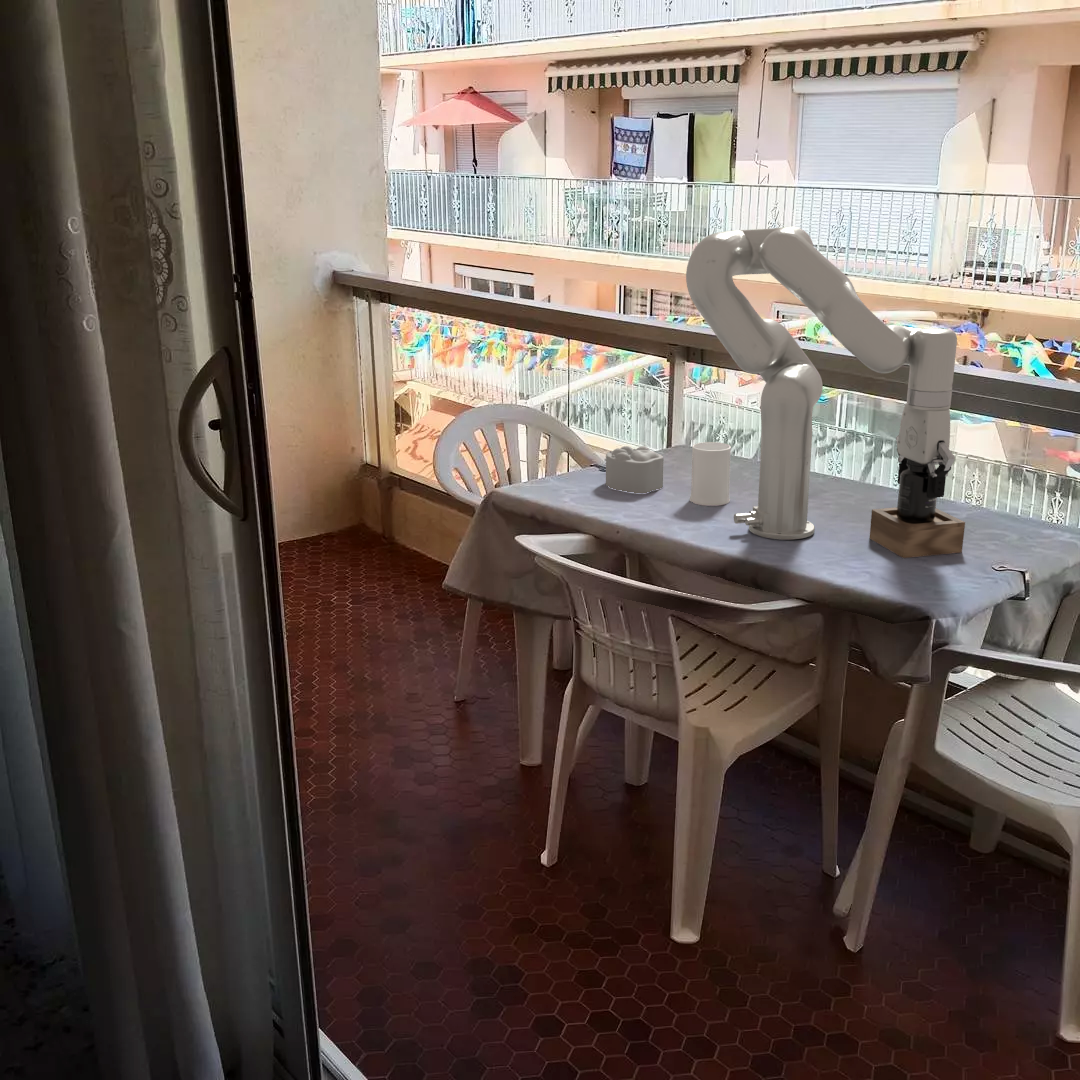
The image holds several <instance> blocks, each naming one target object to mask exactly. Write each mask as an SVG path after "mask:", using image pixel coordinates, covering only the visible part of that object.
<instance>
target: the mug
mask: <svg viewBox="0 0 1080 1080" xmlns="http://www.w3.org/2000/svg"><path fill="white" fill-rule="evenodd" d="M691 451H692V452H691V453H692V456H691V457H692V459H691V484H690V485H691V489H690V490H691V491H690V496H689V501H690V502H691V503H692V502H693V504H695V505H697V506H698V505H699V506H704V507H705V506H707V507H708V506H709V507H719V506H724V505H727V504H729V503H730V501H731V497H730V480H731V479H730V477H731V456H732V455H731V453H732V446H731V445H729V444H728V443H724V442H716V441H712V442H711V441H705V442H703V441H702V442H698V443H697V442H696V443H695V444H693V445H692V450H691Z"/></svg>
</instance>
